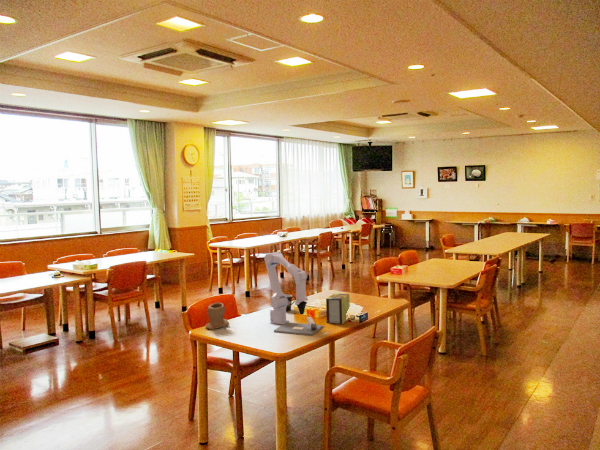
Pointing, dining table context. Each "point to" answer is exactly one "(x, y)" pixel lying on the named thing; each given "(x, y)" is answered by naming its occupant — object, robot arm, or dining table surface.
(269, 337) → the dining table surface
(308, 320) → the swing bar
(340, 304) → the protein box
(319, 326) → the label board
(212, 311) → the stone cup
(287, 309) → the coffee mug
